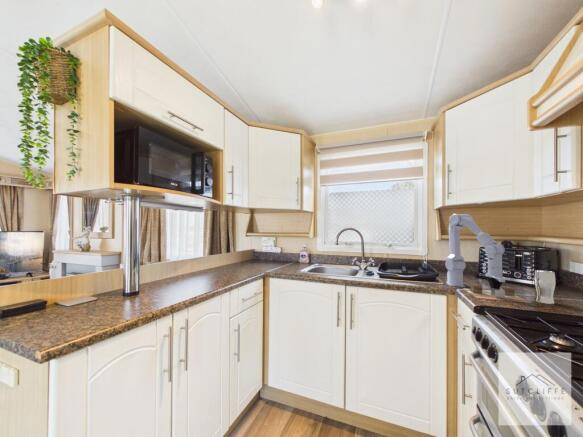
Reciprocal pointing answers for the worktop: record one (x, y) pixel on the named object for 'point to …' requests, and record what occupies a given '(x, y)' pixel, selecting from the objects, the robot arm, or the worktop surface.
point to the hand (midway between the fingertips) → (495, 293)
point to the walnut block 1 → (476, 288)
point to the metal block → (497, 293)
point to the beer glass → (545, 286)
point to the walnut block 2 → (508, 291)
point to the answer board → (487, 295)
